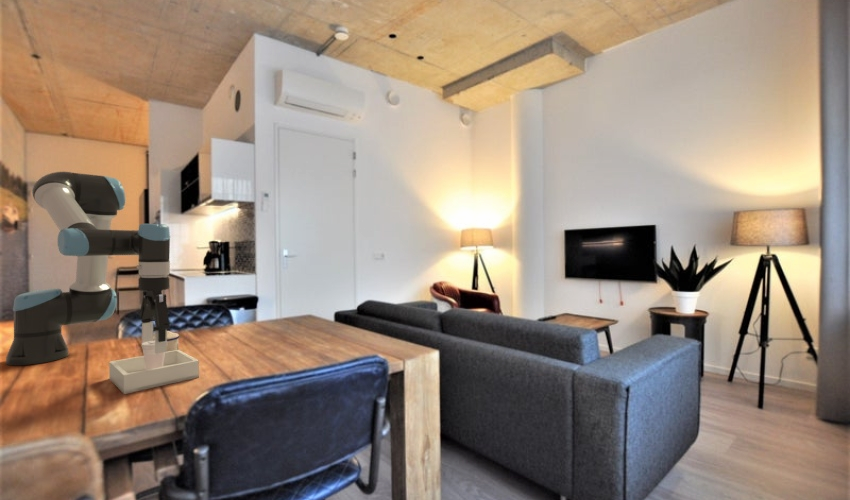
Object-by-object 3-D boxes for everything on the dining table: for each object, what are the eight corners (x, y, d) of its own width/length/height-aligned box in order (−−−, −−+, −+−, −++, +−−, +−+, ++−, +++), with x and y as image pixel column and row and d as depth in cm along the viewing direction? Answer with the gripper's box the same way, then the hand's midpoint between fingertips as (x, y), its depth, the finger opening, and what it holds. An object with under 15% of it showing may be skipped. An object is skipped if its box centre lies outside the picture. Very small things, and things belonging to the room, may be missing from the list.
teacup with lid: (183, 363, 131) (183, 328, 131) (151, 369, 124) (151, 332, 124) (170, 356, 139) (170, 323, 138) (139, 362, 132) (139, 327, 131)
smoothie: (153, 379, 112) (154, 330, 112) (135, 377, 114) (135, 329, 114) (172, 372, 119) (172, 326, 119) (154, 371, 120) (155, 325, 120)
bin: (109, 378, 115) (109, 361, 115) (178, 364, 129) (178, 349, 129) (124, 394, 103) (124, 375, 103) (198, 377, 117) (198, 360, 117)
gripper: (128, 274, 121) (127, 342, 122) (151, 280, 105) (150, 359, 105) (156, 272, 127) (156, 338, 127) (182, 278, 110) (182, 353, 111)
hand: (153, 348), depth 116 cm, fingers open, 13 cm apart
